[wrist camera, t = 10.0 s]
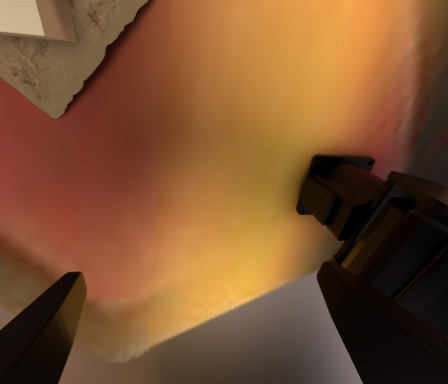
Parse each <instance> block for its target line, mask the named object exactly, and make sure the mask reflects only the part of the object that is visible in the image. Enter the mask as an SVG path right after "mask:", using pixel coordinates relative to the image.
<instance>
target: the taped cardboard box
mask: <svg viewBox="0 0 448 384" xmlns="http://www.w3.org/2000/svg"><path fill="white" fill-rule="evenodd" d="M0 35H4V36H14V37H25V38H35V39H45V40H56V41H66V42H77V39H76V35H75V30H74V25H73V20H72V16H71V11H70V6H69V1H68V0H0Z"/></svg>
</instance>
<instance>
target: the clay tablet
mask: <svg viewBox="0 0 448 384" xmlns="http://www.w3.org/2000/svg"><path fill="white" fill-rule="evenodd" d="M68 1H69V6H70V11H71V16H72V20H73V25H74V30H75V35H76V39H77V42H66V41H56V40H45V39H35V38H25V37H14V36H4V35H0V77H1V78H3V79H4V80H5V81H6V82H8V83H9V84H10V85H12V86H13V87H14V88H16V89H17V90H18V91H19V92H20V93H22V94H23V95H24V96H25V97H26V98H27V99H29V100H30V101H31V102H32V103H34V104H35V105H36V106H38V107H39V108H40V109H41V110H42V111H44V112H45V113H47V114H48V115H49V116H51V117H52V118H53V119H54V120H55V119H56V118H59V117H60V116H61V115H62V114H64V113H65V110H64V109H66V108H67V104H68V103H70V102H71V100H72V99H73V95H74V94H76V93H78V92H79V90H81V89H82V86H83V81H84V80H87V78H88V77H89V76H90V75H91V74H92V73H93V72H94V70H95V69H96V68H97V67H98V65H99V64H100V63H101V61H102V60H103V58H104V57H105V52H106V46H107V45H108V44H111V43H112V42H114V41H115V39H116V38H118V35H119V34H120V32H121V31H123V29H124V26H125V25H126V24H129V23H130V22H132V21H133V20H134V17H135V15H136V13H137V10H138V9H139V8H140V7H141V6H143V5H144V4H145V3H146V2H148V0H68Z"/></svg>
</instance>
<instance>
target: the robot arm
mask: <svg viewBox="0 0 448 384" xmlns="http://www.w3.org/2000/svg"><path fill="white" fill-rule="evenodd" d="M318 159H320V160H319V161H318ZM317 161H318V162H317ZM368 162H369V163H368ZM374 163H375V160H374V159H373V158H371V157H363V156H343V155H323V154H318V155H316V156H315V157H314V158H313V160H312V163H311V166H310V169H309V172H308V175H307V177H306V180H305V183H304V186H303V189H302V192H301V195H300V198H299V202H298V205H297V208H296V211H297V212H298V214H300V215H312V214H313V216H314V217H315V218H316V219H317V220H318V221H319V222H320V223H321V224H322V225H325V226H326V227H327V228H328V229H329V230H330V232H331V233H332V234H333V235H334V236H335V237H336V238H337V239H338V240H339V241H343V240H344V243H343V244H342V246H341V247H340V248H339V250H338V251H337V253H336V254H335V255H333V256H332V258H331V259H330V260H331V261H324V262H323V263H322V265H321V267H320V269H319V271H318V273H317V281H318V284H319V286H320V289H321V292H322V294H323V297H324V300H325V302H326V305H327V308H328V310H329V313H330V315H331V318H332V320H333V322H334V324H335V326H336V328H337V330H338V333H339V335H340V337H341V339H342V341H343V343H344V345H345V347H346V349H347V351H348V353H349V355H350V357H351V359H352V362H353V364H354V366H355V368H356V370H357V372H358V374H359V376H360V378H361V380H362V382H363V384H448V187H446V186H444V185H442V184H439V183H437V182H434V181H431V180H427V179H423V178H419V177H415V176H411V175H407V174H403V173H399V172H395V171H391V173H390V174H389V176H388V177H387V178H388V180H387V181H384V180H382V179H381V178H379V177H377V176H376V175H374V174H372V173H370V171H371V169H372V167H373V165H374ZM301 209H302V210H301ZM86 292H87V288H86V283H85V279H84V275H83V273H82V272H80V271H79V272H68V273H66V274H65V275H63V276H62V277H61V278H60V279H59V280H58V281H56V282H55V283H54V284H53V285H52V286H51V287H50V288H48V289H47V290H46V291H45V292H44V293H43V294H41V295H40V296H39V297H38V298H37V299H36V300H35V301H33V302H32V303H31V304H30V305H29V306H28V307H26V308H25V309H24V310H23V311H22V312H21V313H20V314H18V315H17V316H16V317H15V318H14V319H13V320H11V321H10V322H9V323H8V324H7V325H6V326H5V327H3V328H2V329H1V330H0V384H58V383H59V380H60V378H61V375H62V372H63V369H64V367H65V364H66V361H67V359H68V356H69V353H70V351H71V348H72V345H73V342H74V338H75V335H76V331H77V327H78V323H79V320H80V316H81V312H82V308H83V305H84V301H85V297H86Z"/></svg>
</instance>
